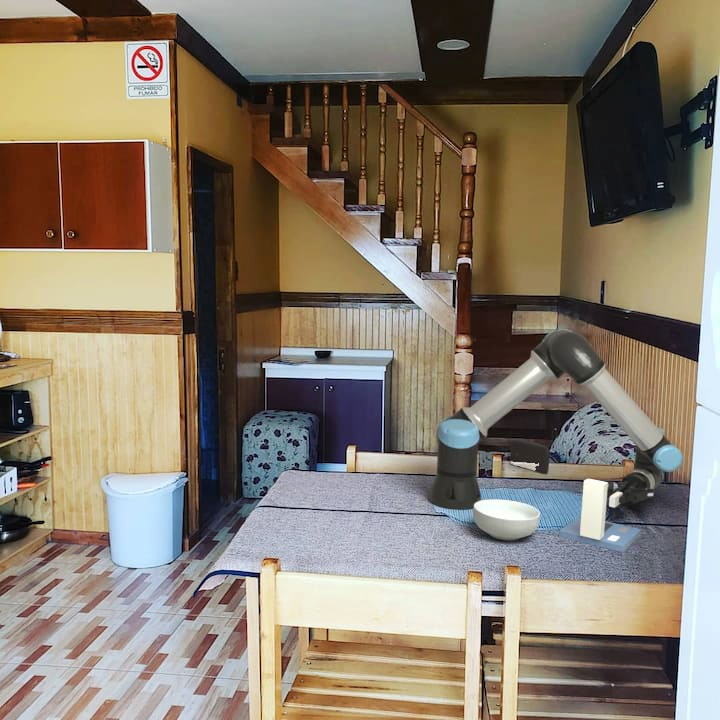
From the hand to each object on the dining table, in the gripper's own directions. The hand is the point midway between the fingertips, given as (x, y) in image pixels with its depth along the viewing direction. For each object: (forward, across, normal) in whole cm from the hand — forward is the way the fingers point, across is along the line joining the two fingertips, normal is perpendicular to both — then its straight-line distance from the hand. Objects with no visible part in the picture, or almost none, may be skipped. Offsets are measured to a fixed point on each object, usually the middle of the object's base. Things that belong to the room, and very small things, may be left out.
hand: (612, 502), depth 182 cm
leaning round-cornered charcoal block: (-42, +42, -8) cm, 60 cm away
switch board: (+8, 0, -7) cm, 10 cm away
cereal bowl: (+25, +19, -8) cm, 32 cm away
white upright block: (+15, 0, -5) cm, 16 cm away
